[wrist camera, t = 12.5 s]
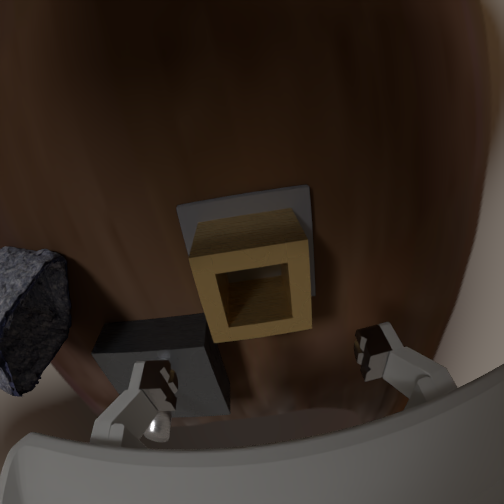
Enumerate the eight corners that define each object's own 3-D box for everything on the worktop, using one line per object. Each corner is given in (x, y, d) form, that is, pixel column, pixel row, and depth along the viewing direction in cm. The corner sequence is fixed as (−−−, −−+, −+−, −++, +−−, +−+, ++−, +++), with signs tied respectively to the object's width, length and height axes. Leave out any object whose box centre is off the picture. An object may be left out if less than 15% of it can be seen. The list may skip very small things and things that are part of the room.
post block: (104, 323, 25) (72, 399, 17) (207, 312, 24) (199, 401, 17) (143, 388, 29) (129, 456, 21) (229, 383, 29) (231, 458, 21)
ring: (197, 222, 20) (188, 258, 16) (291, 207, 20) (308, 239, 16) (216, 297, 23) (214, 343, 19) (298, 285, 23) (312, 328, 19)
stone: (96, 255, 23) (86, 351, 25) (24, 227, 23) (20, 315, 25) (-5, 286, 11) (12, 414, 13) (-66, 239, 12) (-55, 352, 13)
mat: (177, 205, 20) (176, 208, 20) (307, 184, 20) (309, 186, 19) (205, 308, 24) (205, 312, 24) (313, 291, 24) (315, 295, 24)
